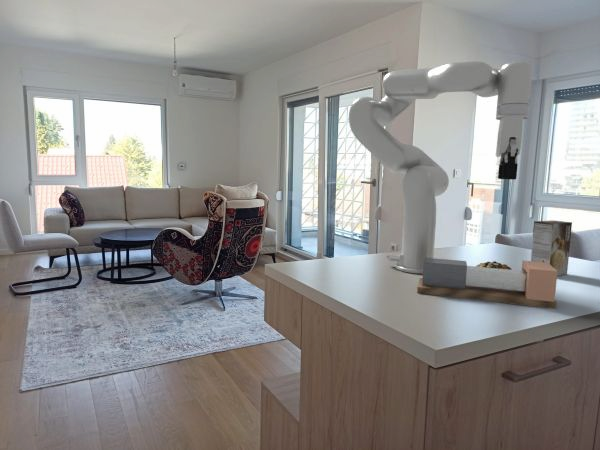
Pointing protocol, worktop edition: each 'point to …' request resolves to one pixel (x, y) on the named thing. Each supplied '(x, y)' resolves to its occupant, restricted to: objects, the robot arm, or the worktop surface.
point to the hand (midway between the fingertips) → (506, 179)
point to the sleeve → (444, 273)
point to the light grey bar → (496, 278)
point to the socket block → (540, 280)
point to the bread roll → (493, 265)
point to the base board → (486, 295)
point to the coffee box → (552, 244)
